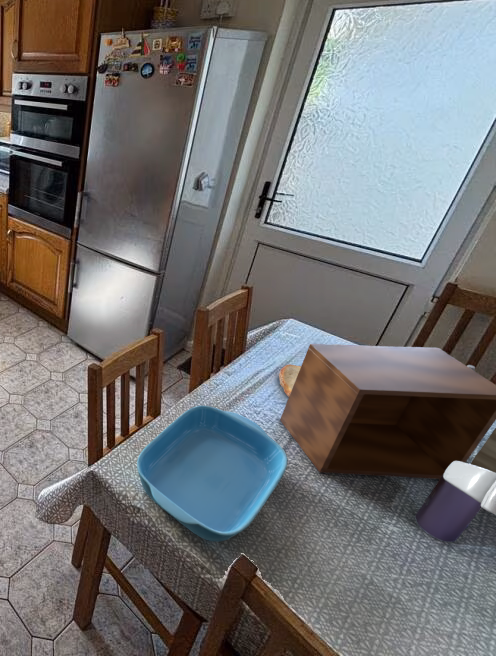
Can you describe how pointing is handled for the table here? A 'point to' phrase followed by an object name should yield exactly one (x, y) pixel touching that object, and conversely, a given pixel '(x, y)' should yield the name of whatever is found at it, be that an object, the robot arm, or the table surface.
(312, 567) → the table surface
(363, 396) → the cupboard
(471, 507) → the beverage can
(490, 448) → the cupboard door
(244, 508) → the casserole dish
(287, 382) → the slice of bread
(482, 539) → the table surface
